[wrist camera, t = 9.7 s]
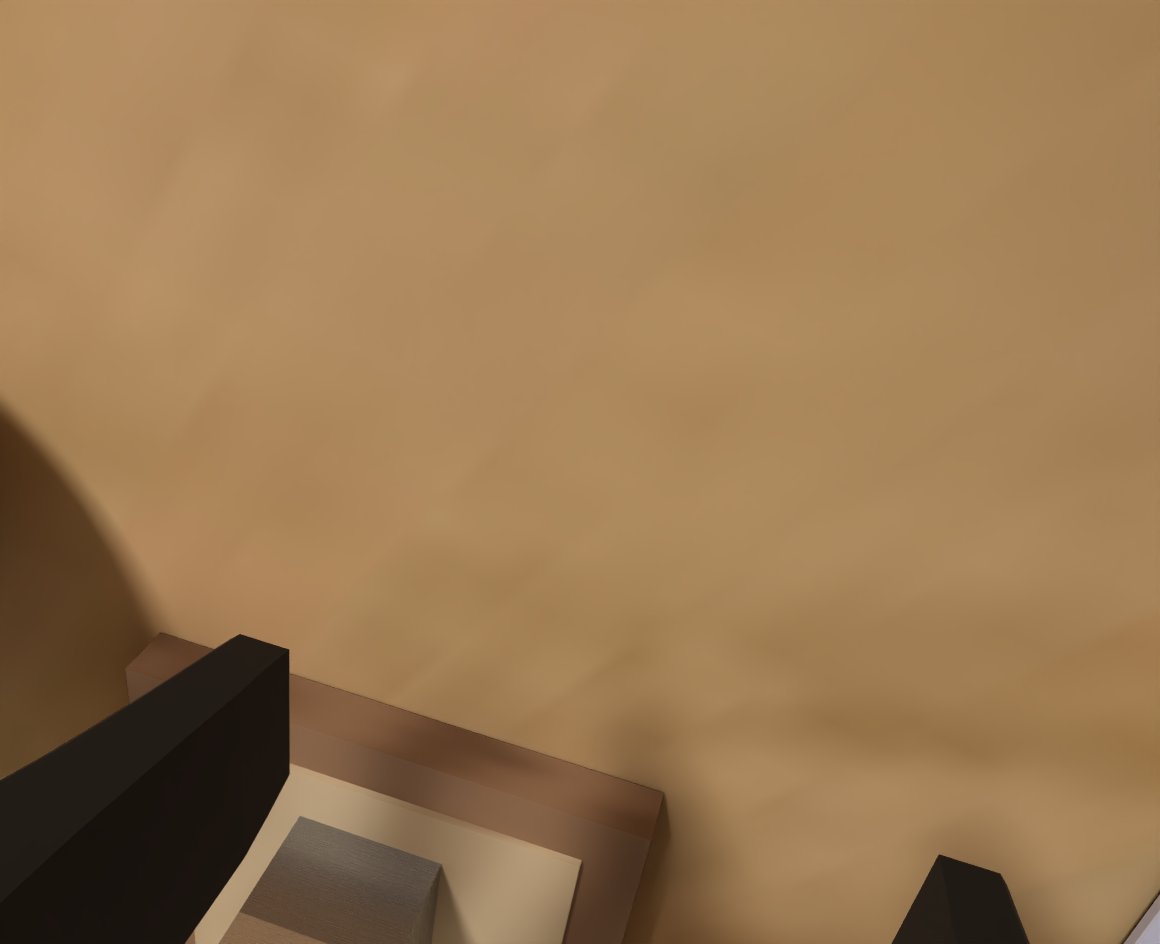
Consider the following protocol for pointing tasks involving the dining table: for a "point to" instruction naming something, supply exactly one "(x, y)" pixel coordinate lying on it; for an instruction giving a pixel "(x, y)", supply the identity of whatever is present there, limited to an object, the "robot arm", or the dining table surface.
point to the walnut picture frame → (447, 815)
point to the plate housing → (338, 893)
